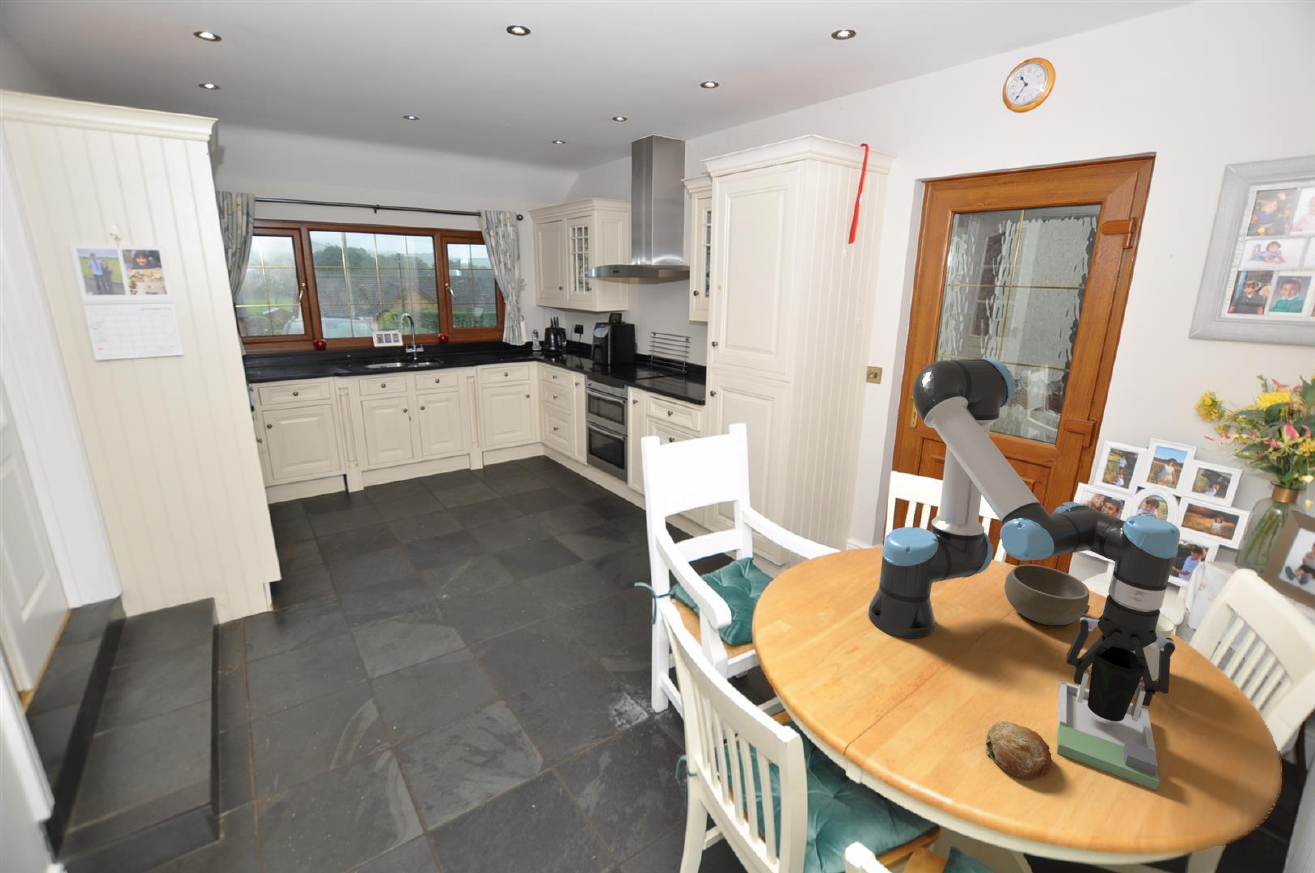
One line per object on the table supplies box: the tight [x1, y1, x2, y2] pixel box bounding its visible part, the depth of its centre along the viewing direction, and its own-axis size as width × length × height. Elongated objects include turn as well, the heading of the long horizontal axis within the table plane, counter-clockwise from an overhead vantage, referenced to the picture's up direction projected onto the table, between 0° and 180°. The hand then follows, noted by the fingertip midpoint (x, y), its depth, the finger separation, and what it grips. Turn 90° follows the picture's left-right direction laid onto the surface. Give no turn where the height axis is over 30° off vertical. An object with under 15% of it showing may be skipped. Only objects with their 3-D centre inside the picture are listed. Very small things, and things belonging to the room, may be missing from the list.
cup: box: [1088, 646, 1145, 722], centre depth 108 cm, size 8×8×12 cm
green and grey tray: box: [1056, 680, 1161, 792], centre depth 108 cm, size 14×20×4 cm
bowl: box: [1004, 564, 1091, 626], centre depth 146 cm, size 17×18×10 cm
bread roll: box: [984, 720, 1053, 781], centre depth 103 cm, size 10×10×8 cm
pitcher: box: [1133, 611, 1176, 681], centre depth 124 cm, size 11×18×14 cm, turn 163°
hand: (1106, 706), depth 110 cm, fingers closed on cup, 8 cm apart
